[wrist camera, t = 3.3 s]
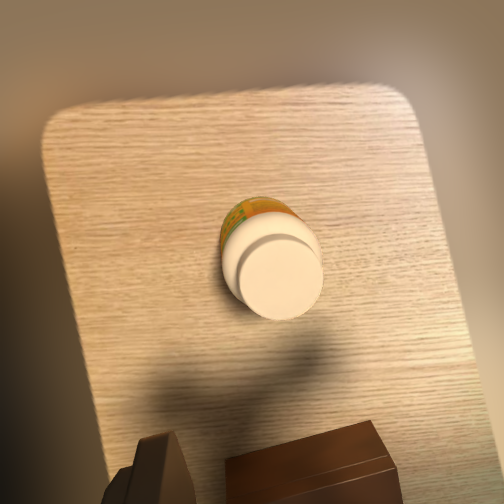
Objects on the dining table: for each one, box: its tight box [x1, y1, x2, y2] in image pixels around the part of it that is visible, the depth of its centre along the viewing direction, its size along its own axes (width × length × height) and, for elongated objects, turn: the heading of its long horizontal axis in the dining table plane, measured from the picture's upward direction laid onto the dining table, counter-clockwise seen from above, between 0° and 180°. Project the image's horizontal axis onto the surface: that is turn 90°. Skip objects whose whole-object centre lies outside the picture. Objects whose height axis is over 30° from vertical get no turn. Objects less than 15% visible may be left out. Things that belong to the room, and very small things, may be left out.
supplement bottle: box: [220, 196, 324, 320], centre depth 24 cm, size 5×5×10 cm
